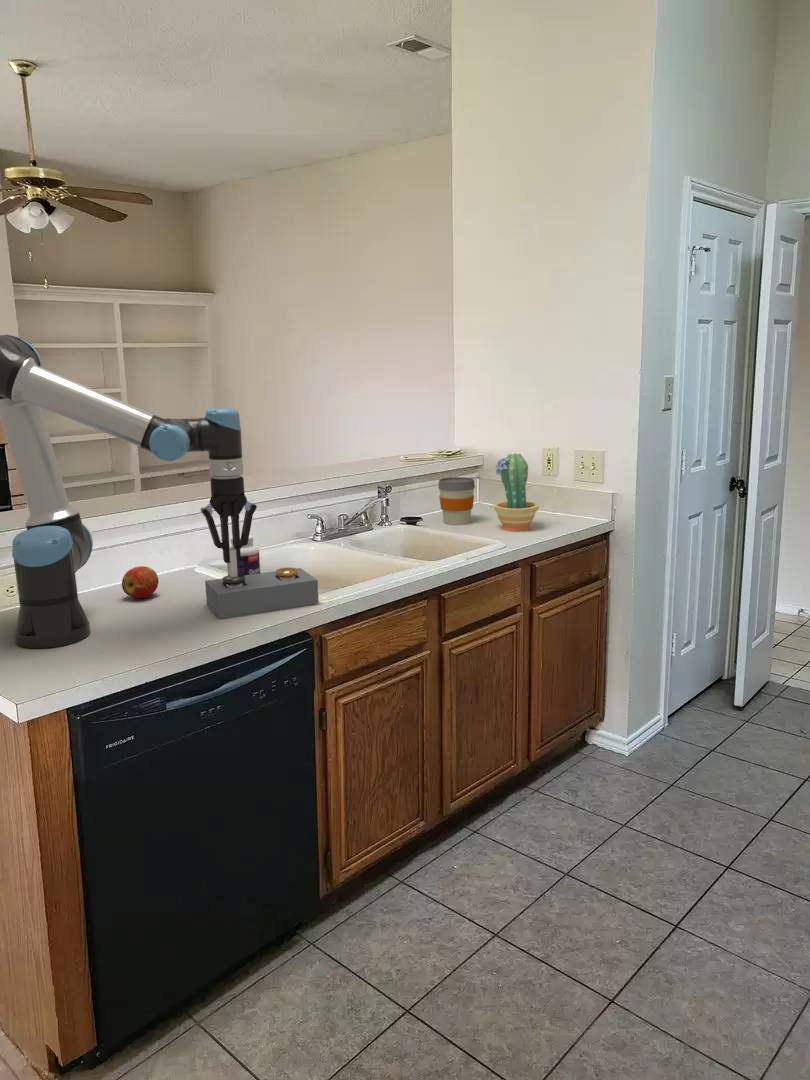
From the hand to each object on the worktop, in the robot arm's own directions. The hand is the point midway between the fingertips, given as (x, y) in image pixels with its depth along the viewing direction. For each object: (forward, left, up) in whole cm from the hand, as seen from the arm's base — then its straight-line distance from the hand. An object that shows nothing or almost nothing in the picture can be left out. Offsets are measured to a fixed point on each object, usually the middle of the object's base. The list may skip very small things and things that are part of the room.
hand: (233, 575), depth 199 cm
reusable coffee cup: (+94, +61, -8) cm, 112 cm away
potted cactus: (+106, +42, -8) cm, 114 cm away
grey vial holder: (+7, 0, -8) cm, 11 cm away
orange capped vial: (+13, 0, -8) cm, 15 cm away
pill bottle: (+6, +12, -8) cm, 16 cm away
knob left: (0, 0, -8) cm, 8 cm away
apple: (-18, +21, -8) cm, 29 cm away
